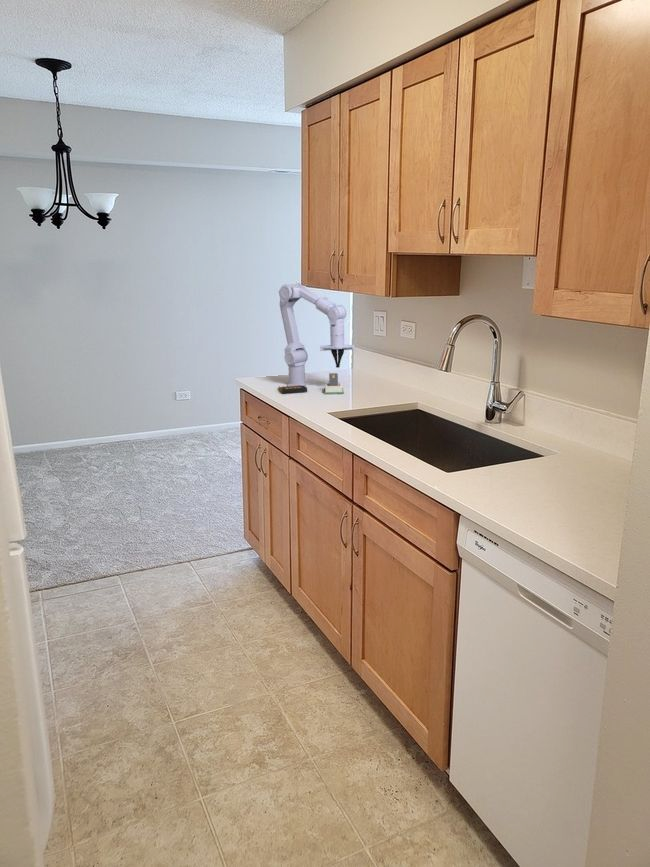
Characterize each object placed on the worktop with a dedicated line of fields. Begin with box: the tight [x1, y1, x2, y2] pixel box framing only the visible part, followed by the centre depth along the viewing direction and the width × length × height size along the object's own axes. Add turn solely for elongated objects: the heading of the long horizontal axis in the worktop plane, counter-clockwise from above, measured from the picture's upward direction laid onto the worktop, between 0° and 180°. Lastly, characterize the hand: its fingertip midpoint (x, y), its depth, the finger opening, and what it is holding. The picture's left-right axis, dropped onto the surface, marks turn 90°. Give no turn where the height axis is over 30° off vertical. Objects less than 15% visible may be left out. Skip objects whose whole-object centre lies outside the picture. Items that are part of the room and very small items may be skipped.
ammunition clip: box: [277, 385, 308, 395], centre depth 284 cm, size 11×2×12 cm
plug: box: [328, 372, 339, 386], centre depth 279 cm, size 4×4×7 cm
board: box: [323, 382, 345, 395], centre depth 280 cm, size 10×8×3 cm
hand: (337, 367), depth 280 cm, fingers closed
